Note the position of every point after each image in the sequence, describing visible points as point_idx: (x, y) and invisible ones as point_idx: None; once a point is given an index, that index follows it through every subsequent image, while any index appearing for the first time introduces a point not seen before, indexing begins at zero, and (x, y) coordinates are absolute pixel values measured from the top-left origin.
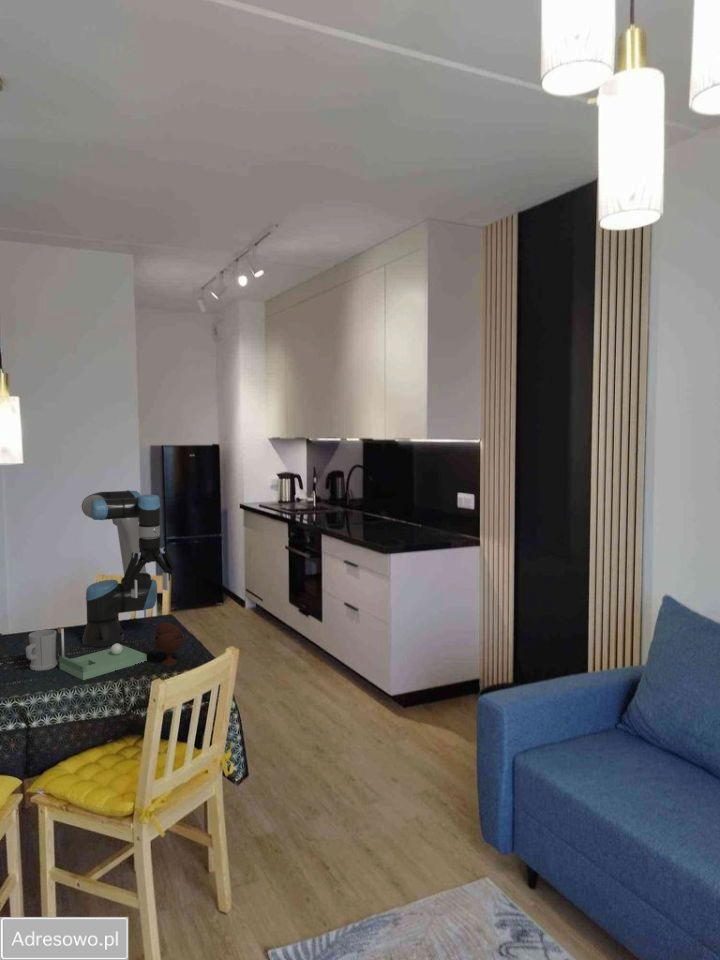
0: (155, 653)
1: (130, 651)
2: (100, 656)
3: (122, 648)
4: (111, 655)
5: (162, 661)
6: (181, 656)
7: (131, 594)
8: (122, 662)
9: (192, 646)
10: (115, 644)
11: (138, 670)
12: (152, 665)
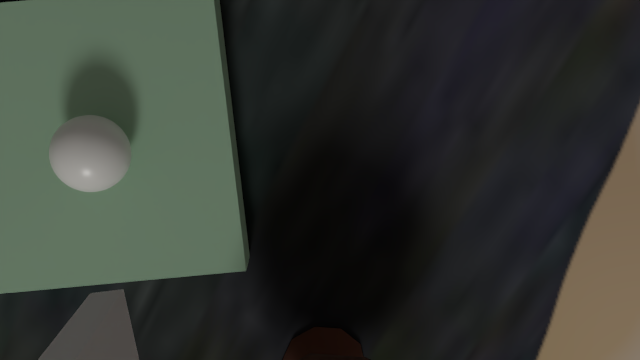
0: (353, 169)
1: (196, 151)
2: (5, 108)
3: (125, 173)
4: None
5: (296, 347)
6: (429, 315)
7: (77, 321)
8: (84, 282)
9: (576, 209)
10: (67, 167)
11: (150, 351)
12: (241, 334)
